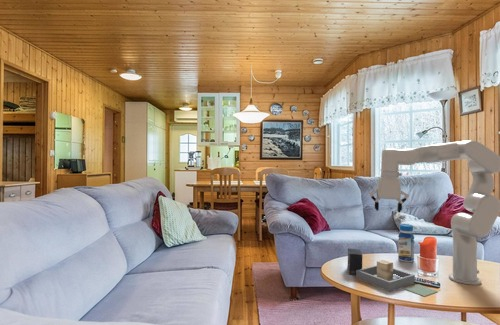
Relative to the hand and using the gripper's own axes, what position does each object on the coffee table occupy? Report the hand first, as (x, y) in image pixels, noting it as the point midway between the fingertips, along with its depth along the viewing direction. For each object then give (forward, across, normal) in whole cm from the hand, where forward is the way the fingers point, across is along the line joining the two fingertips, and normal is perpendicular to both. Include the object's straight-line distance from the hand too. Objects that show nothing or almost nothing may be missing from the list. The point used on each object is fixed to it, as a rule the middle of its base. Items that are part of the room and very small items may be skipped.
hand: (387, 211), depth 152 cm
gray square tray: (+32, 0, +2) cm, 32 cm away
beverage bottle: (+32, -17, -36) cm, 51 cm away
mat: (+32, -13, +10) cm, 36 cm away
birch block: (+30, 0, +2) cm, 30 cm away
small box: (+33, +13, -8) cm, 36 cm away
